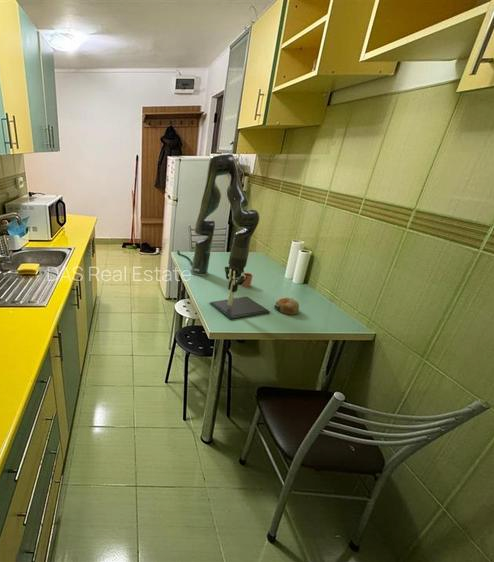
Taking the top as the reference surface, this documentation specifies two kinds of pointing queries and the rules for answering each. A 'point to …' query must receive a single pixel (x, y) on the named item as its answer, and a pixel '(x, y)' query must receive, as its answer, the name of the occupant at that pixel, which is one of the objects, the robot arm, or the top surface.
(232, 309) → the plate
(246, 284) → the pen pot
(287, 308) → the bread roll
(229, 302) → the stylus
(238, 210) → the robot arm
